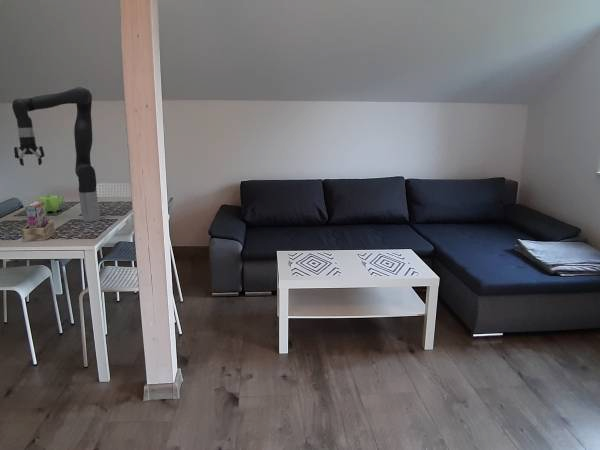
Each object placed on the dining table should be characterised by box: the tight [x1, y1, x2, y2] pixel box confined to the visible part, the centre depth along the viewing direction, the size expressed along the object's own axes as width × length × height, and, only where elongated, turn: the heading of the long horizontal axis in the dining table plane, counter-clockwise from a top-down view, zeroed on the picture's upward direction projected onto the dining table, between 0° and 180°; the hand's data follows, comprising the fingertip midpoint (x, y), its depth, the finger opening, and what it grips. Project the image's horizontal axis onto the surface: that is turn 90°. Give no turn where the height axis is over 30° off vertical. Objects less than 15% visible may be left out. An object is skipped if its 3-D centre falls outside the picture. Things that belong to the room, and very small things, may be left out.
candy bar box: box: [25, 201, 48, 229], centre depth 227 cm, size 11×5×16 cm, turn 7°
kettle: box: [31, 194, 67, 214], centre depth 283 cm, size 15×14×11 cm
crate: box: [20, 219, 56, 243], centre depth 228 cm, size 11×17×6 cm, turn 17°
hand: (31, 165), depth 250 cm, fingers open, 8 cm apart
